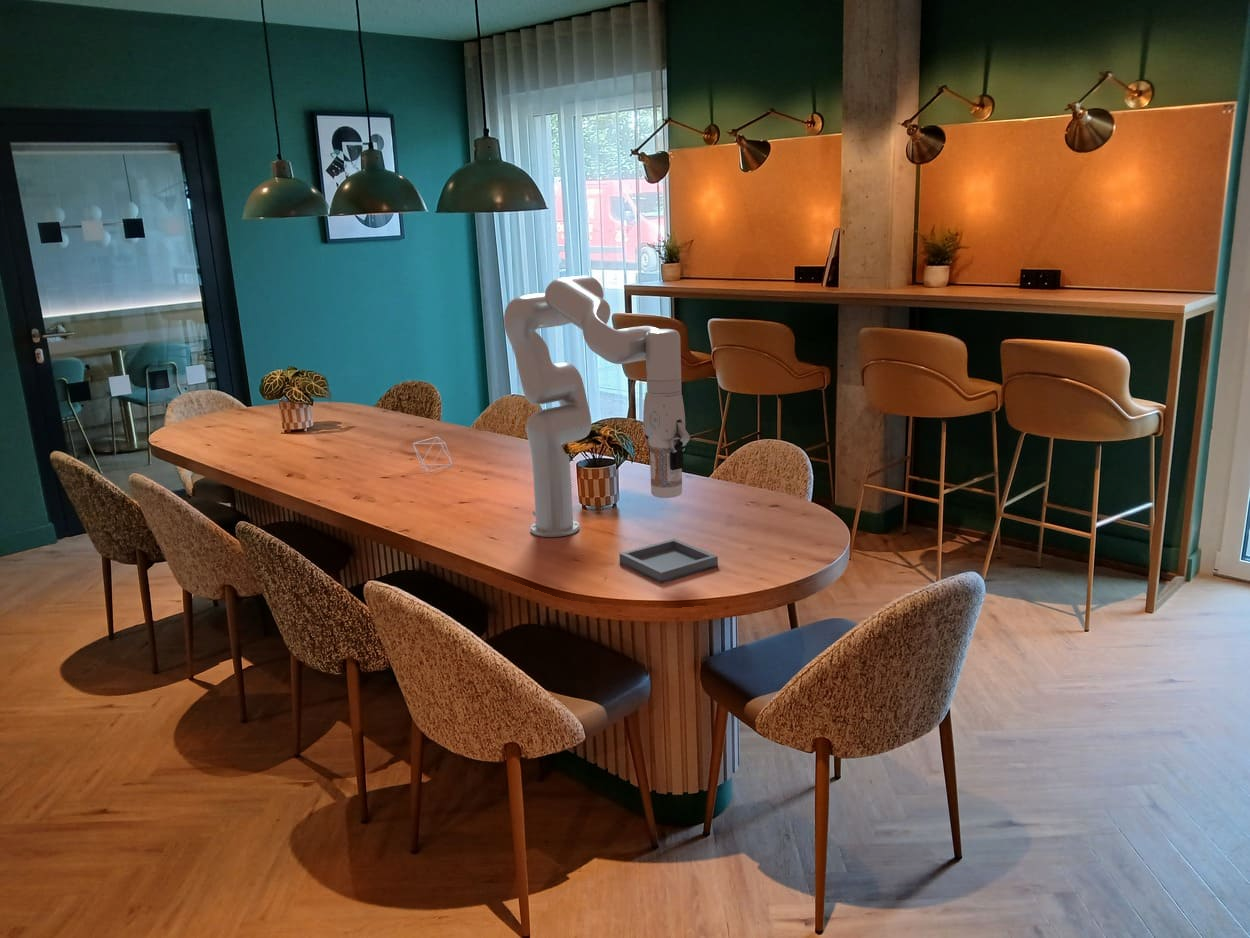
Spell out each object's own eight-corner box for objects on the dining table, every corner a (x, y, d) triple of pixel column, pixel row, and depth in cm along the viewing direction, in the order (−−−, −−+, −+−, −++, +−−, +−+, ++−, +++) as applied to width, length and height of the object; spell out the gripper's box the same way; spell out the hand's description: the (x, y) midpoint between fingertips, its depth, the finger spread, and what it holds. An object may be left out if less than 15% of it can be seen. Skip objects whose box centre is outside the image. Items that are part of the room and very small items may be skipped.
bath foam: (648, 491, 217) (645, 404, 212) (677, 488, 218) (675, 402, 213) (655, 499, 210) (652, 410, 205) (685, 497, 211) (683, 408, 206)
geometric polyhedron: (408, 469, 312) (405, 442, 310) (432, 461, 321) (430, 435, 318) (435, 474, 305) (432, 446, 303) (459, 466, 314) (457, 439, 311)
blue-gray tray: (619, 563, 220) (619, 553, 220) (674, 548, 229) (674, 538, 229) (661, 583, 208) (661, 572, 207) (717, 566, 216) (717, 556, 216)
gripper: (627, 384, 213) (629, 461, 217) (674, 394, 199) (676, 476, 203) (654, 379, 217) (656, 455, 221) (702, 389, 203) (704, 470, 207)
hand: (666, 465), depth 212 cm, fingers closed on bath foam, 7 cm apart
